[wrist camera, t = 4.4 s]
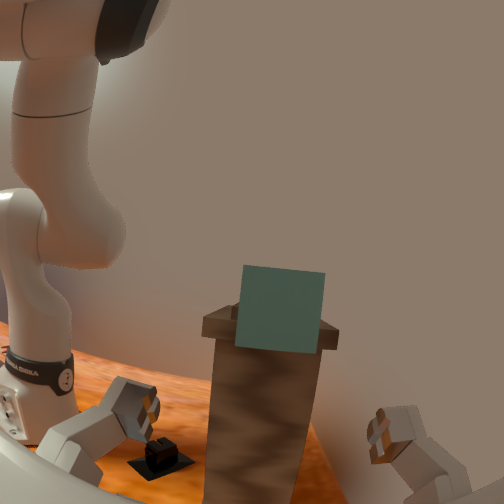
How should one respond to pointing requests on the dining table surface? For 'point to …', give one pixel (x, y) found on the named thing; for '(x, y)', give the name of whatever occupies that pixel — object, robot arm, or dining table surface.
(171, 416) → the dining table surface
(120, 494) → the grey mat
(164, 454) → the black block on plate
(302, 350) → the teal square bar
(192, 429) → the dining table surface
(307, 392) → the walnut stand
